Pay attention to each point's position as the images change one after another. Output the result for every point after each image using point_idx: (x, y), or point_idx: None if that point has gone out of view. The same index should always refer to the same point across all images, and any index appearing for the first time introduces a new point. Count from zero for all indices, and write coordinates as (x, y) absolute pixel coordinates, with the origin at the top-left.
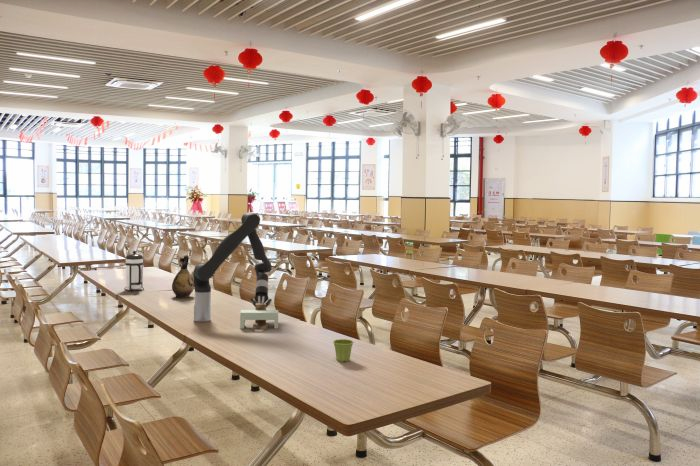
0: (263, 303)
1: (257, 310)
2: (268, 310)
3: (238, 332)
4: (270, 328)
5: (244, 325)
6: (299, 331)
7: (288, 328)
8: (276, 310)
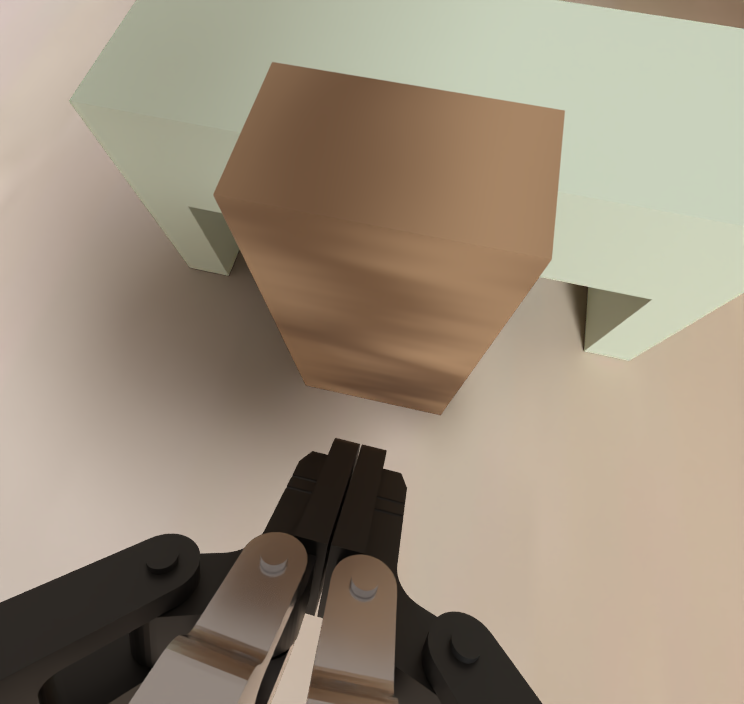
0: (299, 203)
1: None
2: None
3: None
4: None
5: (590, 307)
6: (95, 36)
7: None
8: (120, 79)
